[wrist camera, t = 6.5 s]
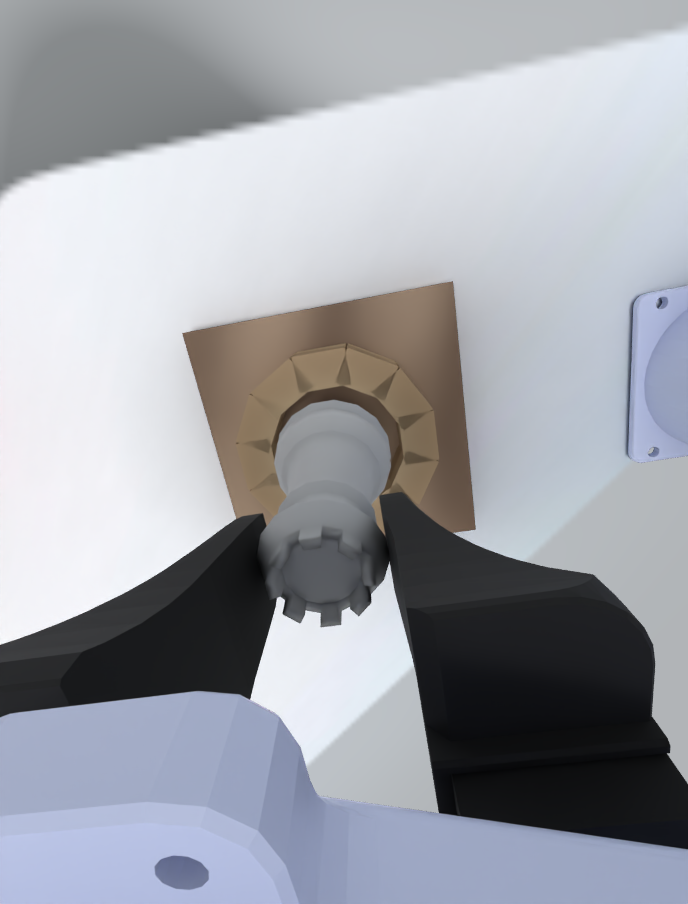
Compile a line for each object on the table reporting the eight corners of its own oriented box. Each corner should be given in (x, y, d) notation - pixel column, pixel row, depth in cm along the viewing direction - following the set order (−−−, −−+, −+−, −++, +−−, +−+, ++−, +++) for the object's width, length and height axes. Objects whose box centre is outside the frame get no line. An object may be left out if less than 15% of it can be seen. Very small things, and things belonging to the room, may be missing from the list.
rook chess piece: (386, 501, 18) (411, 660, 10) (280, 499, 18) (229, 655, 10) (393, 397, 16) (429, 499, 9) (276, 394, 16) (212, 493, 9)
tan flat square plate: (447, 282, 19) (464, 278, 16) (469, 518, 23) (487, 550, 20) (192, 331, 20) (163, 336, 17) (254, 550, 24) (239, 585, 21)
